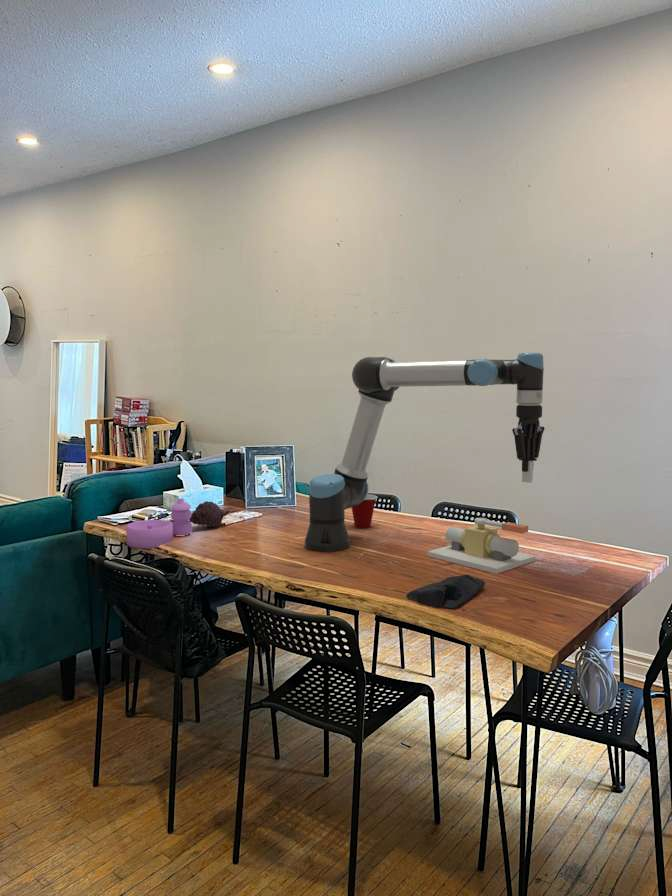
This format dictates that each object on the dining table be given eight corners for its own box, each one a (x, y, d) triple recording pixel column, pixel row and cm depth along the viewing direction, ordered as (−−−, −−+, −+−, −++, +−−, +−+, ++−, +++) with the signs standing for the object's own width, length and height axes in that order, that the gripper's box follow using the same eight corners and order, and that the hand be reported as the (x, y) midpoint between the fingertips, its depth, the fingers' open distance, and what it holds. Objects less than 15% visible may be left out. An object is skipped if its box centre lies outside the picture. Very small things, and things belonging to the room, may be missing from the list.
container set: (145, 550, 229) (143, 511, 227) (118, 543, 238) (116, 505, 237) (204, 536, 248) (203, 499, 247) (176, 530, 258) (175, 495, 256)
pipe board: (496, 573, 200) (496, 536, 199) (427, 556, 219) (427, 522, 218) (535, 560, 213) (536, 526, 212) (467, 545, 233) (467, 513, 231)
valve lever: (471, 524, 215) (472, 518, 215) (479, 522, 218) (479, 516, 218) (521, 533, 202) (521, 527, 202) (528, 531, 205) (529, 525, 205)
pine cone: (196, 534, 251) (195, 506, 250) (180, 529, 258) (179, 503, 257) (235, 525, 264) (234, 499, 263) (219, 522, 271) (218, 496, 270)
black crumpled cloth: (495, 591, 186) (495, 574, 185) (451, 613, 169) (452, 594, 169) (445, 580, 196) (445, 564, 195) (400, 600, 179) (400, 582, 179)
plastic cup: (378, 529, 256) (378, 497, 255) (348, 529, 256) (348, 497, 255) (377, 523, 267) (377, 492, 265) (348, 523, 267) (348, 492, 266)
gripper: (526, 405, 203) (524, 485, 205) (553, 404, 211) (550, 481, 213) (505, 404, 208) (503, 482, 211) (532, 403, 216) (530, 478, 219)
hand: (527, 481), depth 212 cm, fingers closed
